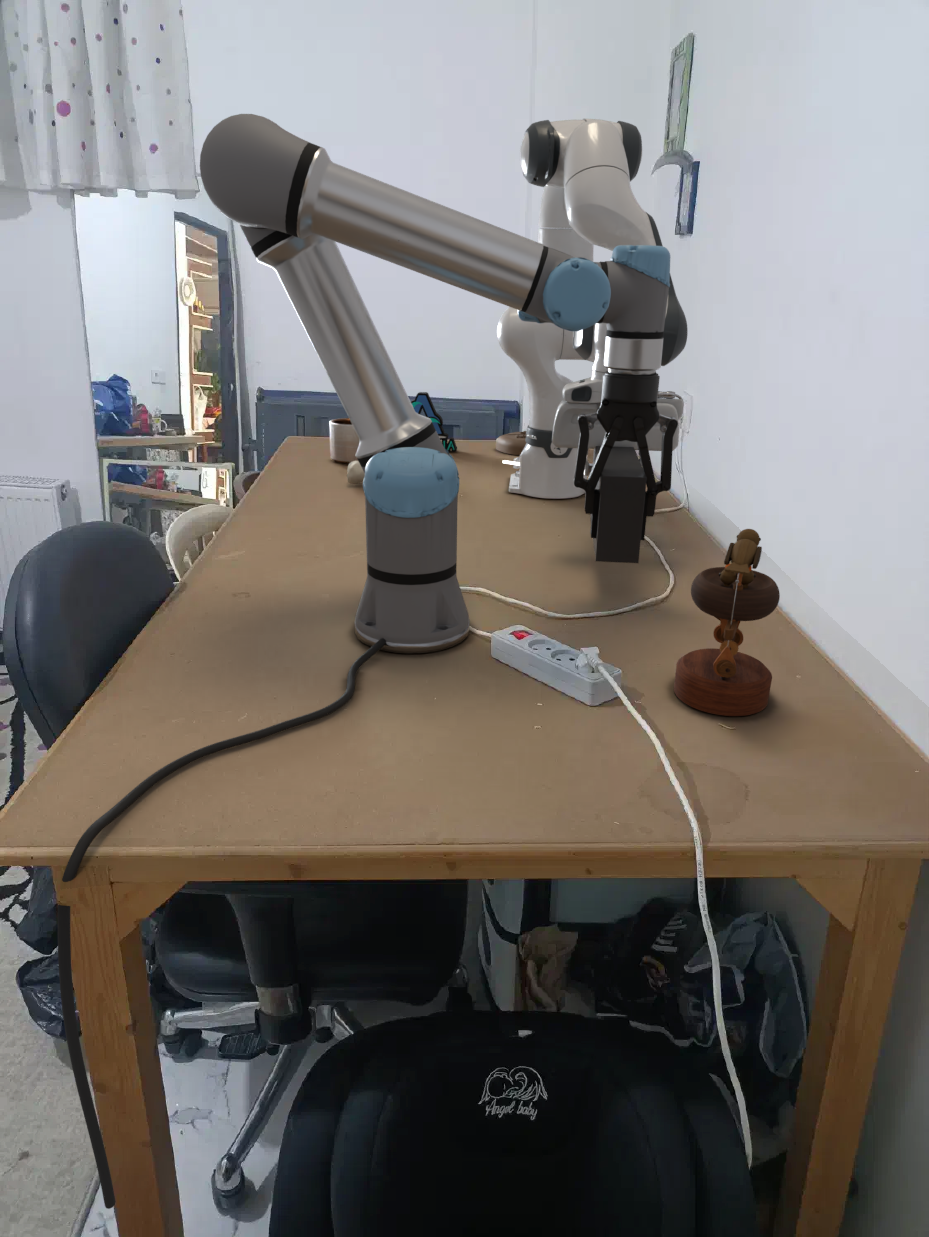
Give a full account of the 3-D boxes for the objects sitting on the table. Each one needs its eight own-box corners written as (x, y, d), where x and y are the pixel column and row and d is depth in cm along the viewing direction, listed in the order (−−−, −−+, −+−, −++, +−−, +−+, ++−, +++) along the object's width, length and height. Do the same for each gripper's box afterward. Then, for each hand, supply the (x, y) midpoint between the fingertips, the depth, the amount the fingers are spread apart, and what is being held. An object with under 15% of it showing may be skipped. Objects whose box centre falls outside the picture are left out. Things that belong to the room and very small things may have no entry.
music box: (786, 726, 90) (801, 547, 83) (681, 727, 92) (686, 551, 84) (757, 665, 104) (767, 507, 97) (666, 666, 106) (669, 511, 98)
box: (638, 563, 119) (646, 477, 115) (595, 561, 120) (602, 475, 115) (624, 513, 145) (631, 441, 140) (589, 511, 145) (594, 439, 141)
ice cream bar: (502, 465, 211) (502, 448, 209) (493, 443, 237) (494, 428, 235) (586, 465, 212) (587, 448, 210) (568, 444, 238) (569, 429, 236)
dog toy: (434, 479, 195) (434, 457, 194) (437, 485, 190) (437, 463, 188) (346, 480, 192) (345, 459, 190) (347, 487, 187) (346, 464, 185)
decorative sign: (457, 450, 228) (457, 393, 222) (456, 451, 225) (457, 394, 220) (387, 448, 229) (386, 391, 223) (386, 449, 226) (384, 392, 221)
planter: (327, 456, 217) (325, 418, 214) (369, 454, 220) (368, 417, 217) (334, 465, 208) (332, 425, 204) (377, 463, 211) (376, 424, 207)
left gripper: (699, 370, 116) (680, 532, 125) (560, 366, 118) (550, 526, 126) (708, 376, 109) (687, 547, 118) (560, 371, 111) (550, 541, 119)
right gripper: (682, 389, 136) (673, 474, 141) (554, 385, 138) (550, 469, 143) (688, 394, 130) (678, 482, 135) (554, 390, 132) (549, 478, 137)
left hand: (616, 536), depth 122 cm, fingers closed on box, 6 cm apart
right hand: (611, 476), depth 139 cm, fingers closed on box, 6 cm apart
